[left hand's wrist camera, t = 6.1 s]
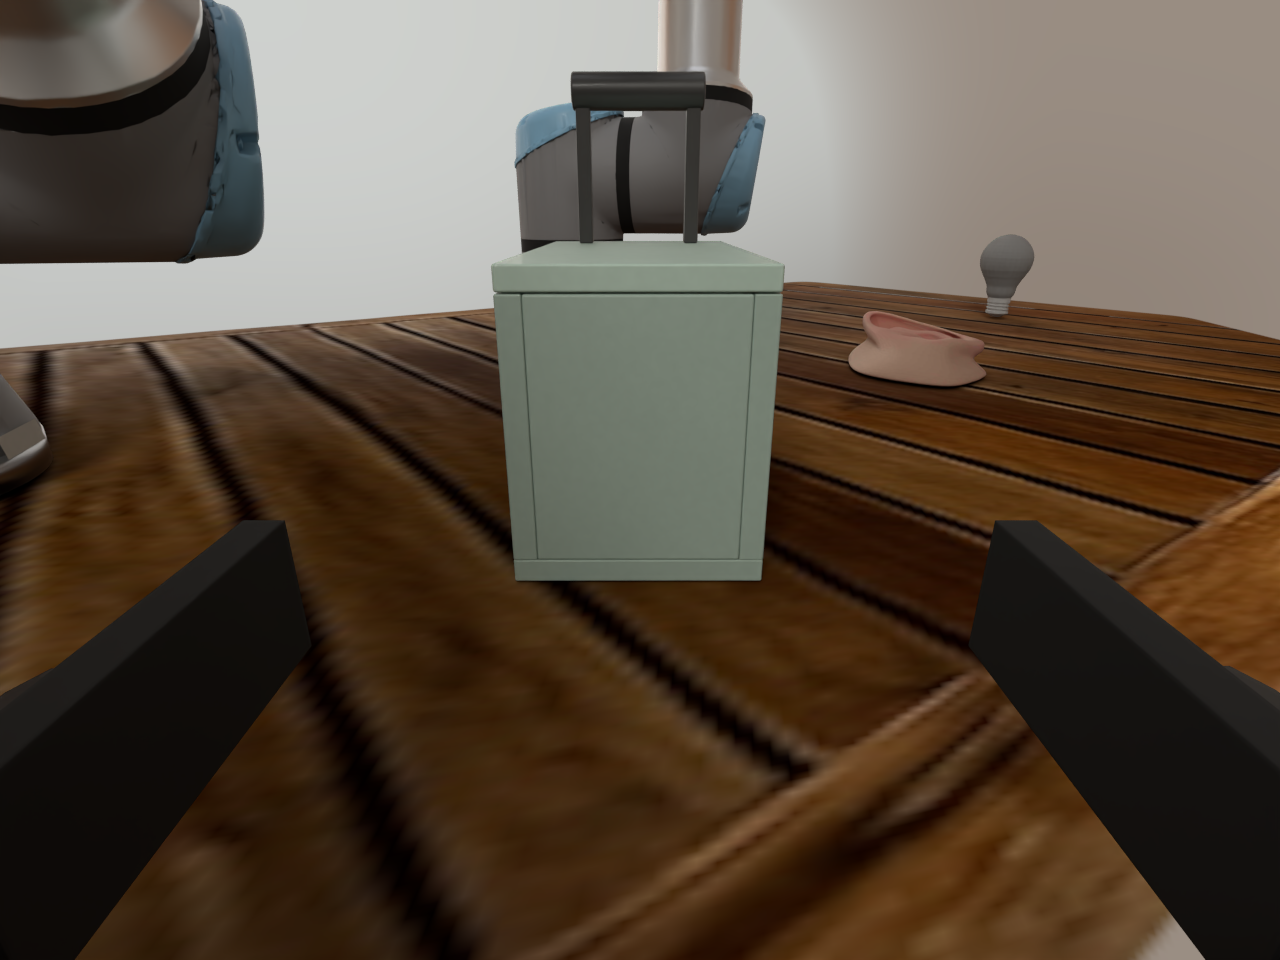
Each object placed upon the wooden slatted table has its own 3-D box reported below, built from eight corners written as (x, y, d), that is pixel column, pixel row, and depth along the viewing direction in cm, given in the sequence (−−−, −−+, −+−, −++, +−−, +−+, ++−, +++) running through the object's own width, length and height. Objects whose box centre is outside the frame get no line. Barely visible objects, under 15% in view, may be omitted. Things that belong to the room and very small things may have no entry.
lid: (555, 257, 38) (548, 80, 35) (721, 257, 38) (728, 80, 35) (492, 292, 22) (467, -36, 18) (783, 292, 22) (807, -36, 18)
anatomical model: (998, 339, 50) (839, 328, 54) (988, 391, 51) (834, 377, 56) (990, 315, 61) (859, 308, 65) (982, 359, 63) (854, 349, 67)
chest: (562, 441, 41) (554, 259, 37) (715, 441, 41) (723, 259, 37) (514, 581, 25) (492, 294, 22) (761, 581, 25) (782, 294, 22)
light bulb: (979, 319, 86) (994, 235, 82) (964, 312, 91) (978, 233, 87) (1029, 320, 85) (1047, 235, 81) (1011, 313, 90) (1027, 233, 87)
